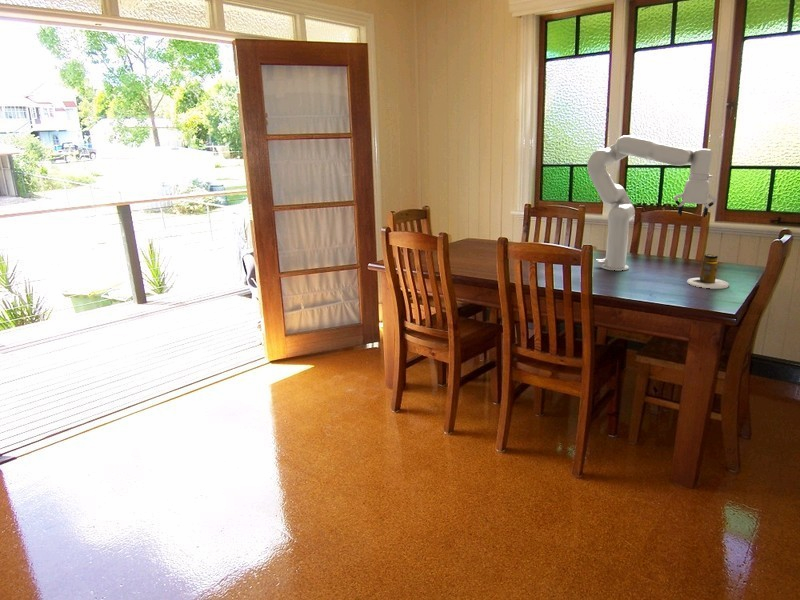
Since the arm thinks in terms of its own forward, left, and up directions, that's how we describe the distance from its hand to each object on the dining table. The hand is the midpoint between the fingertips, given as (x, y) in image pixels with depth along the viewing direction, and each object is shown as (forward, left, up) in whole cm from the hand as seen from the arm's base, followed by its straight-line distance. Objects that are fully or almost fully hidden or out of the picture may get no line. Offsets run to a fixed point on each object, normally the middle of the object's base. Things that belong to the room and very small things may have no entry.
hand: (691, 216), depth 246 cm
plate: (+8, -13, -28) cm, 32 cm away
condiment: (+7, -13, -27) cm, 31 cm away
